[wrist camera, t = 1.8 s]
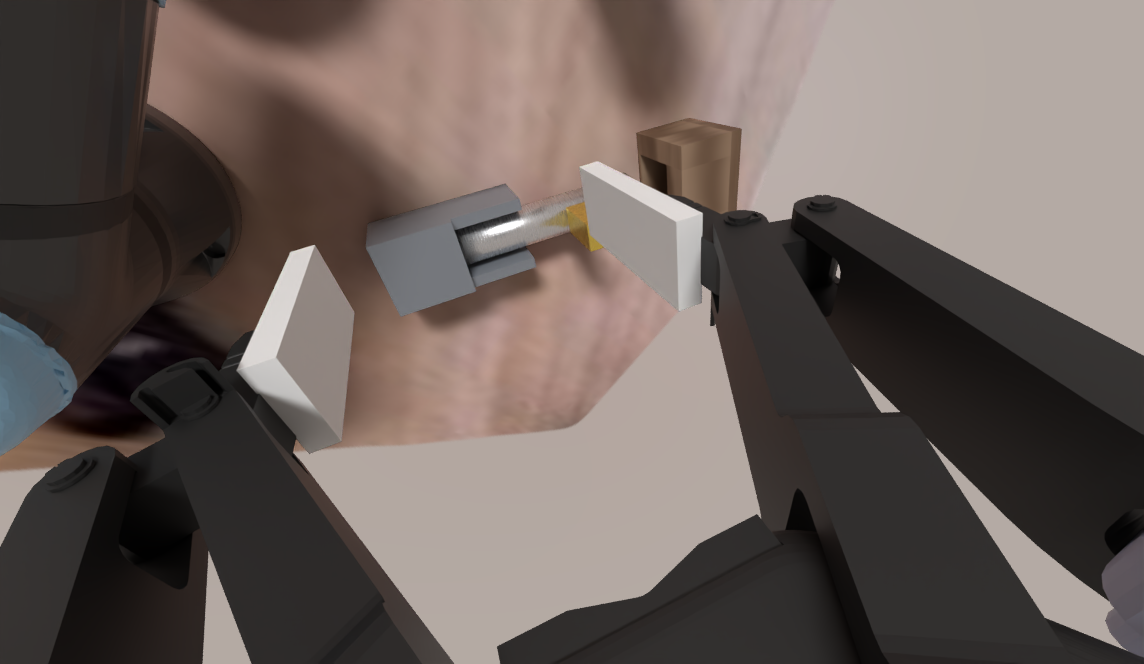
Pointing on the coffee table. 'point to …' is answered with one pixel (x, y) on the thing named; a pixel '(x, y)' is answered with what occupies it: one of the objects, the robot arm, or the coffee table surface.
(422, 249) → the sleeve
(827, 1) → the coffee table surface
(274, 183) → the coffee table surface
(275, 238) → the coffee table surface
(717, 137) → the socket
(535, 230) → the tube
